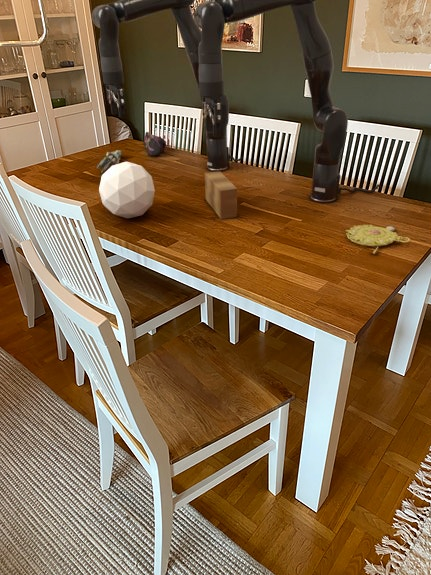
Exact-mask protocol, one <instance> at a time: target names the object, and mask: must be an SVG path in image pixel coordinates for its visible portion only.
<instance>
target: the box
mask: <svg viewBox="0 0 431 575" xmlns="http://www.w3.org/2000/svg"><path fill="white" fill-rule="evenodd" d="M204 191H205V194H204V195H205V201H206V202H207V203H208V205H209V206H210V207H211V209H213V210H212V211H214V212H215V214H216V215H217V217H219V218H220V220H224V219H231V218H232V219H233V218H237V217H238V188H237V187H236V186H235V185H234V184H233V183H232V182H231V181H230V180H229V178H227V177H226V176H225V175H224V174H223V173H222V171H211V172H204Z"/></svg>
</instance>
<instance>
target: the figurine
mask: <svg viewBox="0 0 431 575" xmlns="http://www.w3.org/2000/svg"><path fill="white" fill-rule="evenodd" d="M122 153H123V152H122V150H115V151H111V152H110V151H107V152H106V153H105V155H106V156H104V157H103V158H102V159H101V161H100V162H99V163H98V165H97V167H96V169H97V170H100V173H101V174H104V173H105V172H106V171H107V170H108V169H109V168H110V167H111V166H113V165H116V164H120V160H121V158H122V157H123V154H122Z"/></svg>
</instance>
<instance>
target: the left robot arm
mask: <svg viewBox="0 0 431 575" xmlns="http://www.w3.org/2000/svg"><path fill="white" fill-rule="evenodd" d="M195 1H196V0H118V1H115V2H110V3H104V4H101V5H98V6H96V7H94V9H93V10H92V12H91V20H92V23H93V24H94V25H95V27H97V28H98V29H99V33H100V38H99V39H98V50H99V56H100V67H101V76H102V80H103V84H104V85H105V90H106V100H107V102H108V103H109V105H110V110H111V111H110V112H111V114H112V115H113V116H115V115H118V117H119V119H125V118H126V111H125V110H126V109H125V107H127V100H126V92H125V89H124V88H121V85H122V84H124V83H125V78H124V70H123V63H122V58H121V53H120V44H119V33H120V30H119V29H120V28H119V26H120V24H122V23H123V24H124V23H130V22H133V21H134V22H135V21H136V20H140V19H143V18H146V17H148V16H150V15H153V14H156V13H160V12H163V11H166V10H170V11H171V14H172V16H173V18H174V21H175V23H176V25H177V28H178V31H179V35H180V37H181V39H182V43H183V47H184V50H185V53H186V56H187V59H188V62H189V64H190V67H191V70H192V73H193V76H194V79H195V82H196V84H197V88H198V90H199V53H198V47H199V43H200V42H201V36H202V29H201V28H199V27H198V26H197V25H196V23H195V20H194V15H193V14H192V10H191V6H192V5H193V4H194V3H195ZM198 93H199V94H200V92H199V91H198ZM199 98H200V101H201V103H202V97H201V96H200V95H199ZM218 101H219V103H222V104H223V123H222V124H220V128H221V136H220V137H214V136H213V130H212V131H206V130H205V134H206V158H207V159H206V160H207V162H206V167H207V170H208V171H211V172H218V171H220V172H223V171H226V170H227V169H229V168H230V161H231V160H232V161H233V162H234V163H237V162H239V161H242V160H243V157H239V158H238V159H236V158H235V157H234V156H231V154H230V148H229V146H228V125H229V119H230V100H229V97H228V96H227V94H226V93H224V94H223V96H221V97H219V98H218ZM217 120H218V118H217ZM212 127H213V122H212Z"/></svg>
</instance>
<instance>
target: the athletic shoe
mask: <svg viewBox="0 0 431 575" xmlns="http://www.w3.org/2000/svg"><path fill="white" fill-rule="evenodd" d="M143 146H144V147H145V149H146V150H145V152H146V153H147V155H148V156H151V157H152V156H154V157H155V156H159V155H160V154H162V152H164V150H165V148H167V147H170V145H169V144H167V140H165V139H164V138H162V137H160V136H158V135H154V134H152V133H150V132H149V131H146V132H145V134H144V139H143Z"/></svg>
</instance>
